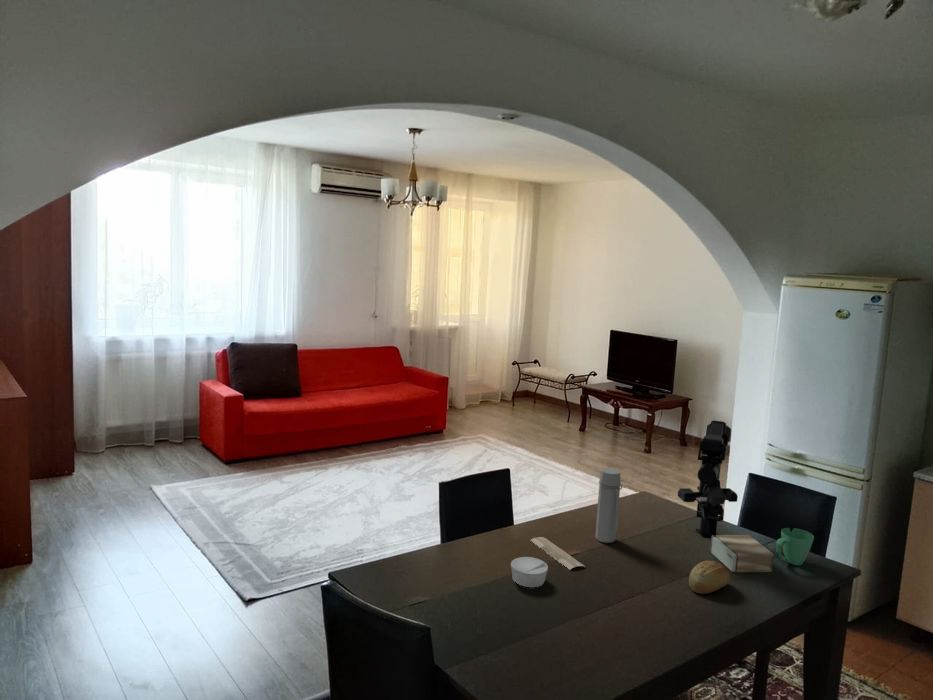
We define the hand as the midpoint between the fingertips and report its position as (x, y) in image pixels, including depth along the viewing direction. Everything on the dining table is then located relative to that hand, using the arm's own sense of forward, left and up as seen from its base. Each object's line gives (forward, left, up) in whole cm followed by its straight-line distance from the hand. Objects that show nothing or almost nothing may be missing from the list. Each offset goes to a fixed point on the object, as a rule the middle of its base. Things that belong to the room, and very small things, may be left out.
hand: (705, 519), depth 224 cm
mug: (+9, +27, -12) cm, 30 cm away
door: (+7, +3, -12) cm, 14 cm away
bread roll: (+25, -10, -12) cm, 29 cm away
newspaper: (+1, -52, -13) cm, 53 cm away
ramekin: (+20, -64, -12) cm, 68 cm away
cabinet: (+7, +11, -12) cm, 17 cm away
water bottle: (-9, -30, -12) cm, 34 cm away
